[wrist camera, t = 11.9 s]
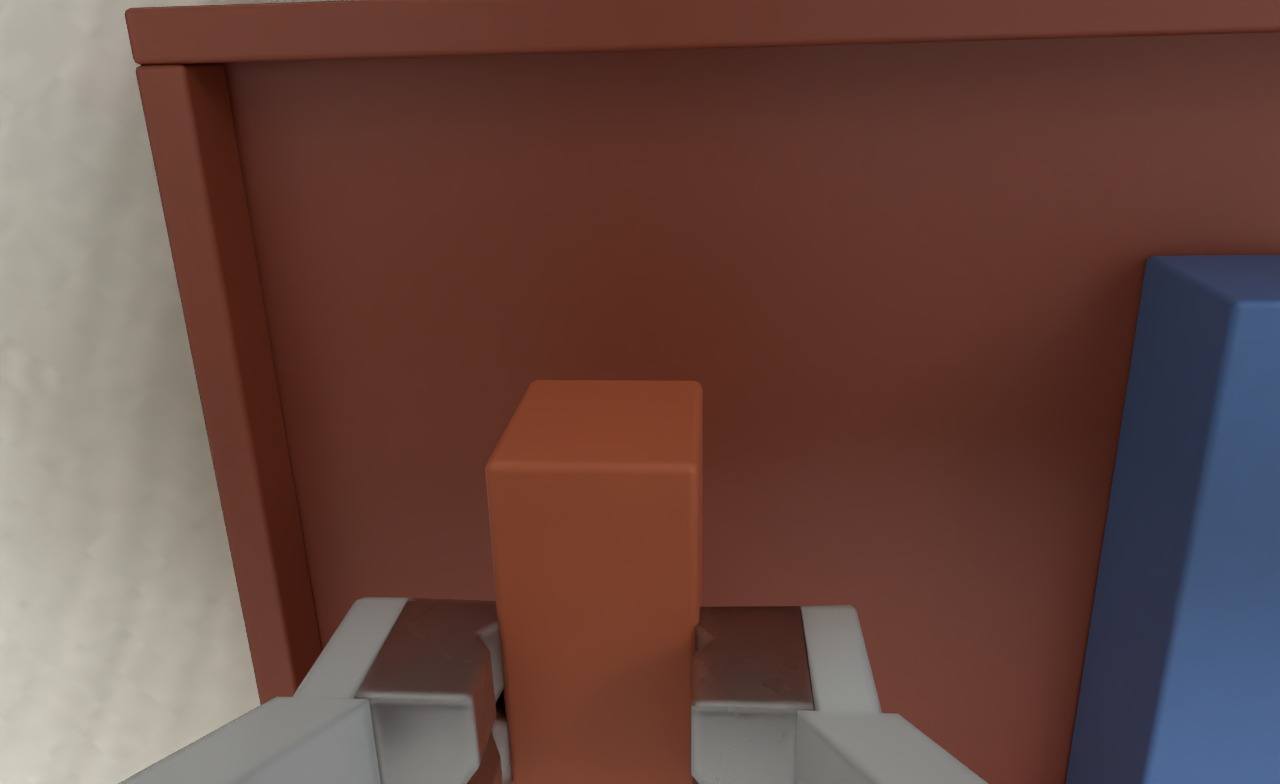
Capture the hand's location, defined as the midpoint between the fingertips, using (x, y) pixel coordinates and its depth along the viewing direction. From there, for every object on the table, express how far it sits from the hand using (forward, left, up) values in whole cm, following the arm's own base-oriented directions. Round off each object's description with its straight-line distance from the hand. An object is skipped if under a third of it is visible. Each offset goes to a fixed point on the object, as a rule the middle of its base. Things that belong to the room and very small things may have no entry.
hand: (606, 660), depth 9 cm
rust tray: (+2, +3, -5) cm, 6 cm away
